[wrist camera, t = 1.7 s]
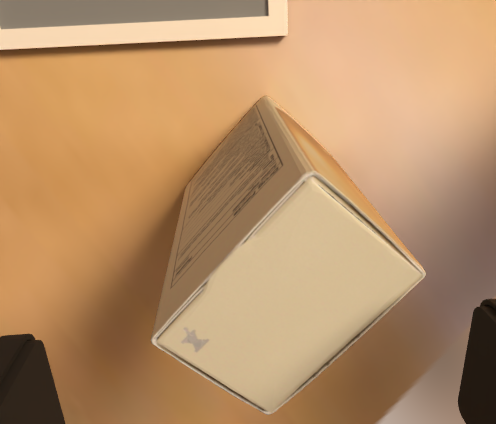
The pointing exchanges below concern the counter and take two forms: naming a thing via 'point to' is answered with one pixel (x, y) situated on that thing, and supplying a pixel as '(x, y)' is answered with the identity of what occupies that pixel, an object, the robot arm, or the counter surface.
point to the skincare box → (275, 263)
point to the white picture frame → (135, 21)
